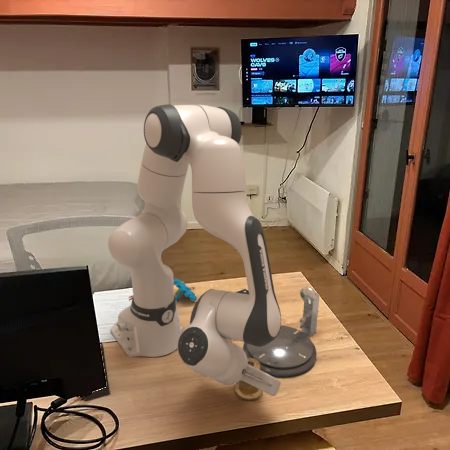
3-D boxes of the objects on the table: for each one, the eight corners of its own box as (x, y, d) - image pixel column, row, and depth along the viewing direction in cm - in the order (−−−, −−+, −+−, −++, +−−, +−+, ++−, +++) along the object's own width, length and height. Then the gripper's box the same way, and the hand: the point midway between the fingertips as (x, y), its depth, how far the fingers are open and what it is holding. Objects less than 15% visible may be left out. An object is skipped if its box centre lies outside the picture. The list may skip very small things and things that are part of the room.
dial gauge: (293, 335, 133) (296, 287, 127) (305, 327, 137) (309, 280, 131) (306, 342, 130) (310, 293, 124) (318, 333, 134) (323, 286, 128)
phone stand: (80, 378, 115) (74, 338, 110) (104, 372, 117) (99, 333, 113) (84, 402, 107) (79, 360, 103) (110, 395, 109) (106, 354, 105)
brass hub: (229, 389, 111) (229, 363, 108) (249, 377, 115) (250, 351, 112) (248, 405, 106) (249, 377, 104) (268, 392, 111) (269, 365, 108)
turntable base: (228, 352, 125) (228, 348, 124) (274, 324, 138) (274, 319, 137) (285, 389, 112) (286, 383, 111) (330, 353, 125) (330, 348, 124)
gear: (200, 302, 146) (177, 283, 144) (187, 315, 147) (164, 297, 144) (196, 289, 157) (174, 272, 154) (184, 302, 157) (163, 284, 154)
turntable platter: (233, 347, 124) (233, 343, 124) (274, 321, 136) (274, 317, 136) (285, 379, 112) (285, 374, 112) (325, 348, 124) (326, 343, 124)
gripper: (272, 368, 94) (293, 381, 105) (198, 332, 106) (223, 347, 116) (260, 397, 92) (282, 407, 103) (185, 358, 104) (212, 370, 115)
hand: (250, 375), depth 110 cm, fingers closed on brass hub, 5 cm apart
